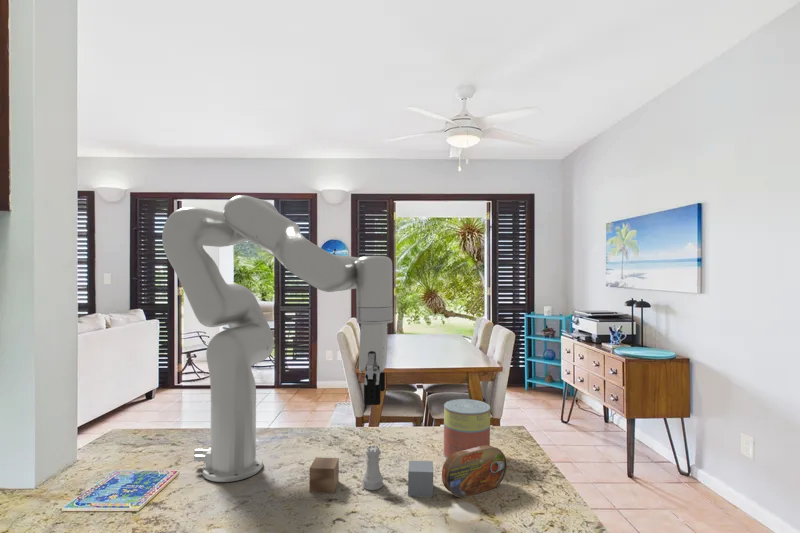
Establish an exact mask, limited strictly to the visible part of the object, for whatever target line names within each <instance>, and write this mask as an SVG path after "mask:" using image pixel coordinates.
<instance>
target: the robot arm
mask: <svg viewBox="0 0 800 533" xmlns="http://www.w3.org/2000/svg"><path fill="white" fill-rule="evenodd" d="M161 237H162V239H161V240H162V246H163V250H164V254H165V255H166V258H167V259H168V262H169V263H170V266H171V267H172V268H173V270H174V272H175V274H176V276H177V278H178V280H179V282H180V284H181V287H182V290H183V291H184V293H185V297H186V298H187V300H188V302H189V304H190V307H191V309H192V311H193V314H194V316H195V317H196V319H197V321H198V322H199V323H200V325H202V326H204V327H208V328H217V327H222V326H228V327H229V328H227V329H224V330H222V331H219V332H218V333H217V334H215V335H214V336H212V338H211V339H210V341H209V342H208V345H207V347H206V353H205V354H206V364H207V368H208V374H209V382H210V445H209V446H210V447H209V448H195V449H194V452H193V456H194V457H193V458H194V459H193V461H194V462H204V463H205V464H204V466H203V467H202V477H204V478H205V479H206V480H208V481H211V482H215V483H216V482H217V483H229V482H231V483H232V482H237V481H241V480H244V479H247V478H250V477H252V476H254V475H256V474H257V473H260V471H261V470H262V469H263V460H264V459H263V458H262V457H261V456H259V455H258V454H256V450H257V449H256V448H257V444H256V443H257V441H256V439H257V432H256V431H257V429H256V428H257V387H256V386H257V385H256V380H255V378H254V373H253V370H252V366H253V365H257V364H258V363H261V362H263V361H265V360H267V359H268V357H270V356H271V355H272V353H273V351H274V347H275V339H274V338H275V337H274V334H273V331H272V330H271V327H270V325H269V323H268V321H267V318H266V316H265V314H264V312H263V309H262V307H261V306H260V304H259V301H258V300H257V298H256V296H255V295H254V293H253V292H252V291H251V290H250V289H249V288H248V287H246V286H244V285H241V284H237V283H227V282H226V280H224V277H223V275H222V273H221V272H220V269H219V266H218V265H217V263H216V262H215V260H214V259H213V258H212V256H210V254H209V253H208V252H207V251H206V250H205V248H204V247H218V248H223V247H230V246H233V245H239V244H241V243H245V242H249V241H250V242H252V244H255V245H256V246H258V247H260V248H261V249H263V250H265V251H266V252H268V253H269V254H271V255H272V256H274V257H275V258H276V259H277V261H278V262H279V263H280V264H281V265H282V266H283V267H284V268H285V269H286V270H287V271H289V273H290V274H293V275H294V276H295V277H297V278H299V279H300V280H302V281H303V282H305V283H306V284H308V285H309V286H312V287H313V288H316V289H317V290H319V291H322V292H325V293H332V292H333V293H334V292H341V291H342V292H343V291H348V290H354V289H355V290H356V291H355V292H356V293H355V294H356V295H355V296H356V301H355V302H356V323H357V324H360V332H359V348H358V349H359V353H358V354H359V356H358V357H359V360H358V372H359V373H363V372H365V375H364V384H363V403H364V405H365V406H366V405H367V406H377V405H379V406H380V405H381V392H384V391H385V390H386V372H385V367H386V365H387V356H388V355H387V354H388V324H391V323H393V318H394V317H393V309H394V308H393V305H394V304H393V261H392V259H391V257H388V256H384V255H365V256H363V255H362V256H360V257H358V256H357V257H356V256H349V255H341V254H332V253H331V252H328V251H327V250H325V249H323V248H322V247H320V246H318V245H317V244H315V243H313V242H312V241H311V240H309V239H307V238H306V237H305V236H304V235H303V234H302V233H301V229H300V226H299V224H298V223H296V222H295V221H293V220H291V219H289V218H288V217H286V216H284V215H283V214H281V213H280V212H279V210H277V208H276V207H275V205H274V204H272V203H271V202H270V201H267V200H264V199H260V198H257V197H254V196H250V195H246V194H245V195H244V194H243V195H235V196H233V197H232V198H230V199H229V200H227V202H226V204H224V207H223V211H217V210H213V209H208V208H207V209H206V208H203V207H193V206H188V207H186V206H185V207H180V208H179V209H175V211H173V212H172V213H171V214H170V215H169V216H168V218H167V219H166V220H165V223H164V225H163V229H162V236H161Z"/></svg>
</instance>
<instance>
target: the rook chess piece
mask: <svg viewBox="0 0 800 533" xmlns="http://www.w3.org/2000/svg"><path fill="white" fill-rule="evenodd" d="M371 446H372V447H371ZM381 453H382V452H381V450H380V447H379V445H375V444H374V445H368V446H367V447H366V450H365V454H366V470H365V472H364V475H363V477H362V486H363V488H364V489H365V490H367V491H378V490H380V489H381V488H382V487H383V485H384V482H383V481H384V477H383V475H382V473H381V471H380V462H379V461H380V460H381V459H380V458H379V456H380V455H381Z"/></svg>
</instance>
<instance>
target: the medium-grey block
mask: <svg viewBox="0 0 800 533" xmlns="http://www.w3.org/2000/svg"><path fill="white" fill-rule="evenodd" d="M407 470H408V471H407V473H408V474H407V475H408V476H407V496H408V497H422V498H424V497H425V498H426V497H427V498H434V461H433V460H432V461H430V460H408V469H407Z"/></svg>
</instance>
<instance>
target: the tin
mask: <svg viewBox="0 0 800 533" xmlns="http://www.w3.org/2000/svg"><path fill="white" fill-rule="evenodd" d="M445 459H446V458H445ZM507 467H508V466H507V458H506V456H505V454H504V452H503V451H502V450H501V449H500V448H497V447H495V446H492V445H490V446H489V445H483V446H479V447H475V448H471V449H467V450H463V451H458V452H455V453H453V454H451V455H450V456H449V457H448V458H447V459H446V460H445V461H444V463H443V466H442V467H441V468H442V469H441V470H442V471H441V479H442V484H443V486H444V488H445V489H446V490H447V491H448V492H450V494H452V495H453V496H454V497H457V498H460V499H461V498H467V497H471V496H473V495H476V494H479V493H482V492H486V491H490V490H493V489H495V488H497V487H498V486H500V484H501V483H502V482H503V480H504V478H505V476H506V472H507Z"/></svg>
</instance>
